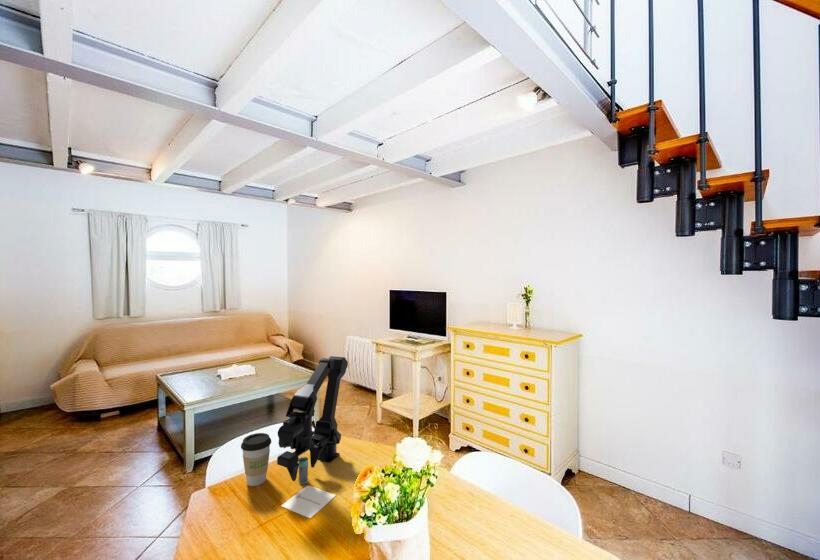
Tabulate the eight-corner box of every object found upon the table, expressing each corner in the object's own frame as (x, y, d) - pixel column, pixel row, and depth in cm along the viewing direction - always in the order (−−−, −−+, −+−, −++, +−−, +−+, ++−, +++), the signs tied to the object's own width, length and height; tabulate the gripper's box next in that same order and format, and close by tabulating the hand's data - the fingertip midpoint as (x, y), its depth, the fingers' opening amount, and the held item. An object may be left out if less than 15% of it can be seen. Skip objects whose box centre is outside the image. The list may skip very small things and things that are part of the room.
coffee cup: (264, 489, 120) (264, 445, 119) (235, 489, 120) (235, 445, 120) (276, 472, 130) (275, 432, 129) (249, 472, 130) (249, 431, 129)
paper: (307, 485, 122) (307, 485, 122) (335, 495, 117) (335, 495, 117) (280, 506, 111) (280, 505, 111) (310, 518, 106) (310, 517, 106)
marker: (303, 478, 126) (303, 456, 126) (309, 480, 125) (309, 458, 125) (296, 482, 124) (296, 460, 123) (303, 485, 122) (303, 462, 122)
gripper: (304, 415, 136) (304, 455, 136) (265, 435, 119) (265, 481, 120) (327, 421, 131) (327, 463, 131) (289, 443, 114) (290, 491, 115)
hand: (303, 473), depth 124 cm, fingers open, 9 cm apart
